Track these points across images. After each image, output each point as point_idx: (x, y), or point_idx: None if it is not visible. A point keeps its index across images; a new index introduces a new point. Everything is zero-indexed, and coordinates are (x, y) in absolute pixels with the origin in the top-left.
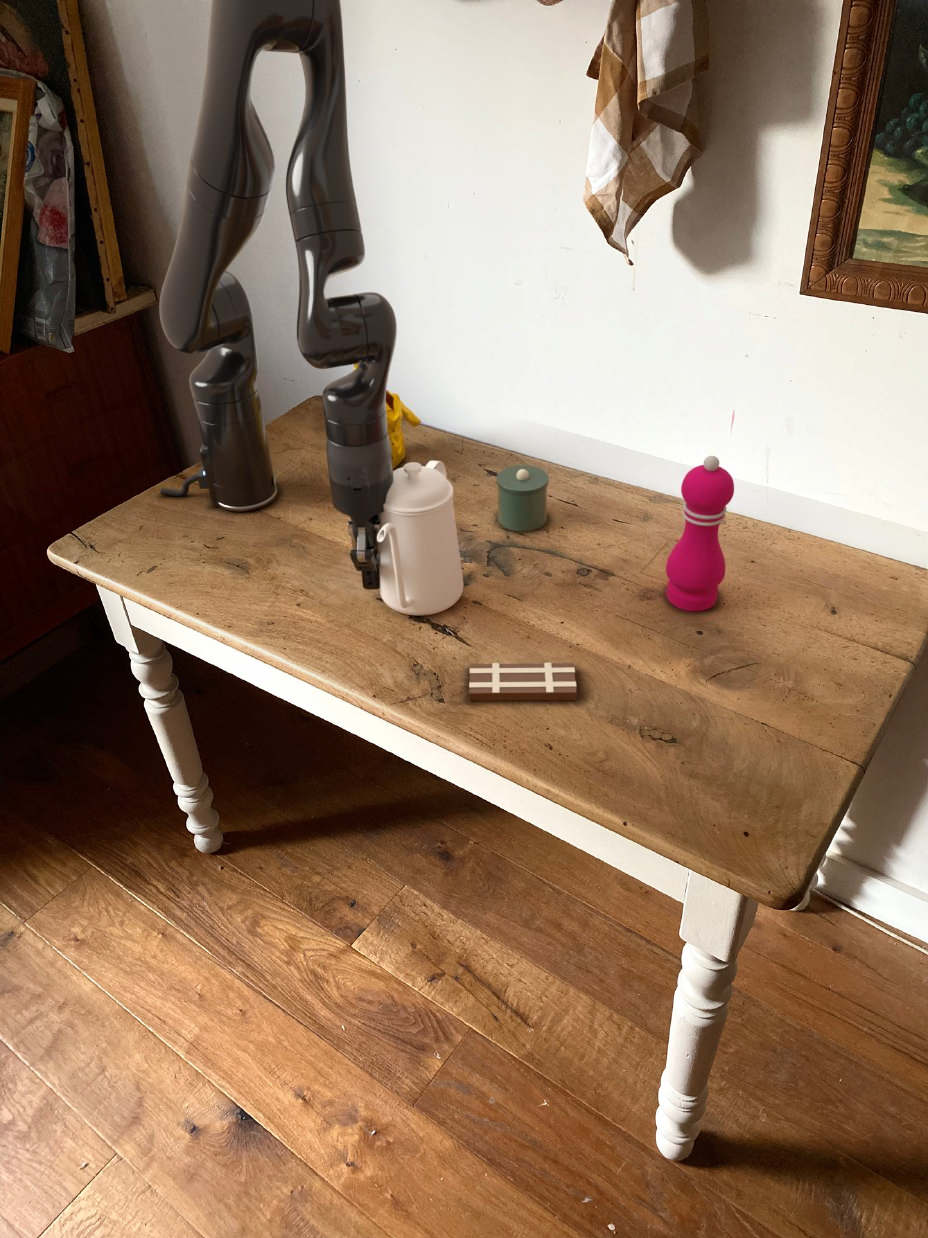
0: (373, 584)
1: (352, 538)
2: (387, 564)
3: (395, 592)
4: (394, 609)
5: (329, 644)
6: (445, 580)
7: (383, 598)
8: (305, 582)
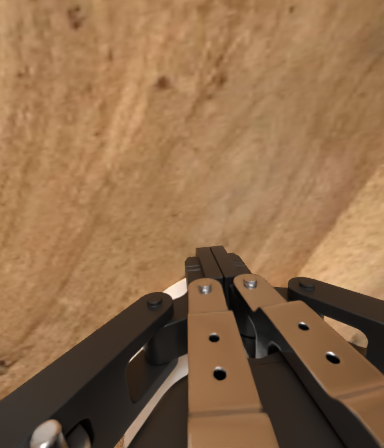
0: (186, 283)
1: (190, 396)
2: (153, 407)
3: (138, 351)
4: None
5: (23, 195)
6: None
7: (169, 291)
8: (254, 82)
